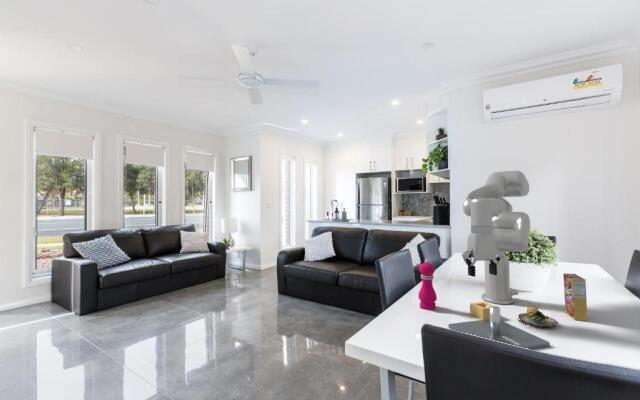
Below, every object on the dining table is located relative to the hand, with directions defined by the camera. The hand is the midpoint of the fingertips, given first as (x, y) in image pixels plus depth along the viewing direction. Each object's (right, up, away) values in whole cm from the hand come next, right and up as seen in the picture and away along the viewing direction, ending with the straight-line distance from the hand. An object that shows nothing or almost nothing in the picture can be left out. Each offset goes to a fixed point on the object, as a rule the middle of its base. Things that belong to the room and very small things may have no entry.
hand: (482, 275), depth 116 cm
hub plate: (-5, -15, -18) cm, 24 cm away
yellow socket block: (0, -16, 0) cm, 16 cm away
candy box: (+34, -15, -2) cm, 37 cm away
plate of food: (+16, -16, -7) cm, 24 cm away
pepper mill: (-17, -16, +10) cm, 26 cm away
